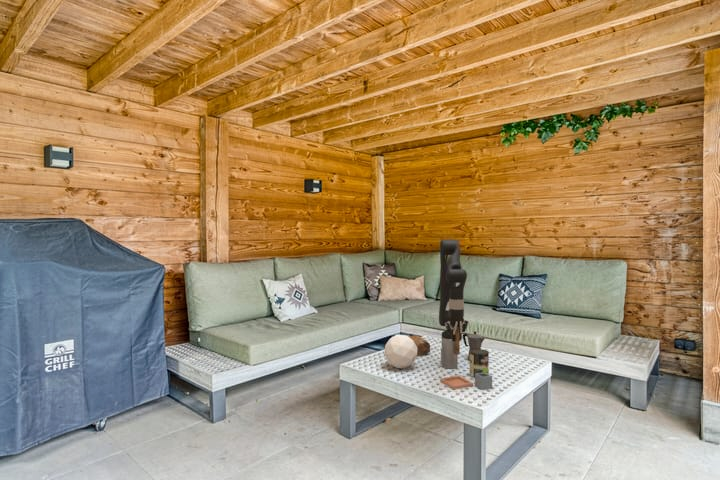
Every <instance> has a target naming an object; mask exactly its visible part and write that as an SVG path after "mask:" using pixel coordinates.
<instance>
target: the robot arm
mask: <svg viewBox="0 0 720 480" xmlns="http://www.w3.org/2000/svg"><path fill="white" fill-rule="evenodd" d="M460 249H461V247H460V242H459V241H458V240H457V239H446V238H445V239H441V240H440V242H439V257H440V259H439V260H440V261H439V262H440V274H439V298H440V299H439V311H438V322H439V325H440V326H441V327H445V328H446V330H443V331H442V332H441V349H440V365H441V367H442V368H444V369H451V370H453V369H457V368H458V355H456V354H454V342H455V331H456V328H457V327H460V342H461V341H462V339H463V337H462V336H463V333H466V331H467V328H468V325H469V321H468V320H465V318H464V317H465V303H464V289H465V285H466V281H467V278H468V273H467V271H466V270H465V269H464V268H462V264H461V250H460ZM446 256H448V259H447V258H446ZM457 283H458V285H457ZM447 306H448V309H447Z"/></svg>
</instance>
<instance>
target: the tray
mask: <svg viewBox="0 0 720 480" xmlns="http://www.w3.org/2000/svg"><path fill="white" fill-rule="evenodd" d="M439 382H440V383H441V384H443V385H445V386H446V387H448V388H449V389H452V390H458V389H465V388H470V387H474V382H472V381H470V380H468V379H466V378H465V377H463V376H461V375H454V376H448V377H443V378H441V377H440V378H439Z"/></svg>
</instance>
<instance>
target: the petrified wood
mask: <svg viewBox="0 0 720 480" xmlns="http://www.w3.org/2000/svg"><path fill="white" fill-rule="evenodd" d="M407 336H408V337H410V338H411V339H412V340H413V341H414V343H415V344H416V346H417V356H424V355H426V354H429V353H430V352H431V345H430V343H429V342H428V341H427V340H426V339H424V338H423V337H421V336H419V335H418V334H412V335H407Z"/></svg>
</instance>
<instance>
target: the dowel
mask: <svg viewBox="0 0 720 480" xmlns="http://www.w3.org/2000/svg"><path fill="white" fill-rule="evenodd" d="M460 342H461V341H460V327H457V328H456V331H455V342H454V354H456V355H457V356H458V355H460V351H461V350H460V346H461V345H460V344H461V343H460Z"/></svg>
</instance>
